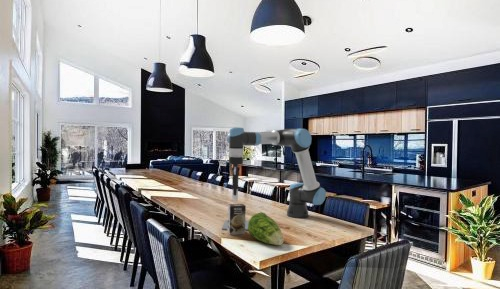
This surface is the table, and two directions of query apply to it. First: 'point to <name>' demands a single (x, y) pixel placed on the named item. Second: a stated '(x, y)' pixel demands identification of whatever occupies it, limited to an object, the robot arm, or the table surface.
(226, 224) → the mat
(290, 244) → the table surface
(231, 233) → the coffee box
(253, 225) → the lettuce
